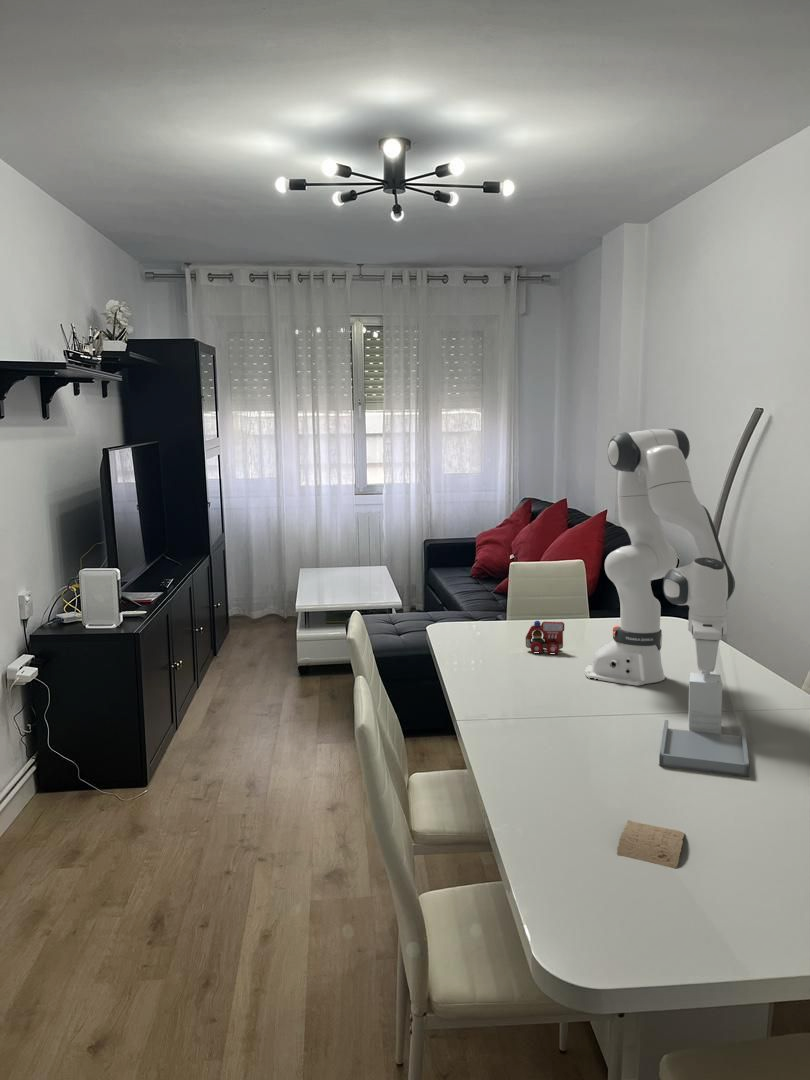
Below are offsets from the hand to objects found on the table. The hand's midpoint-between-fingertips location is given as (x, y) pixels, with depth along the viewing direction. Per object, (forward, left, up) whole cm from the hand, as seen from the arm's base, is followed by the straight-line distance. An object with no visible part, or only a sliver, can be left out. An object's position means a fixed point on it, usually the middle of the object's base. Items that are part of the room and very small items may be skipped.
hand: (705, 679), depth 197 cm
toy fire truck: (-49, +47, -10) cm, 69 cm away
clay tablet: (-8, -68, -11) cm, 70 cm away
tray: (0, -23, -10) cm, 25 cm away
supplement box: (0, -8, -10) cm, 13 cm away
